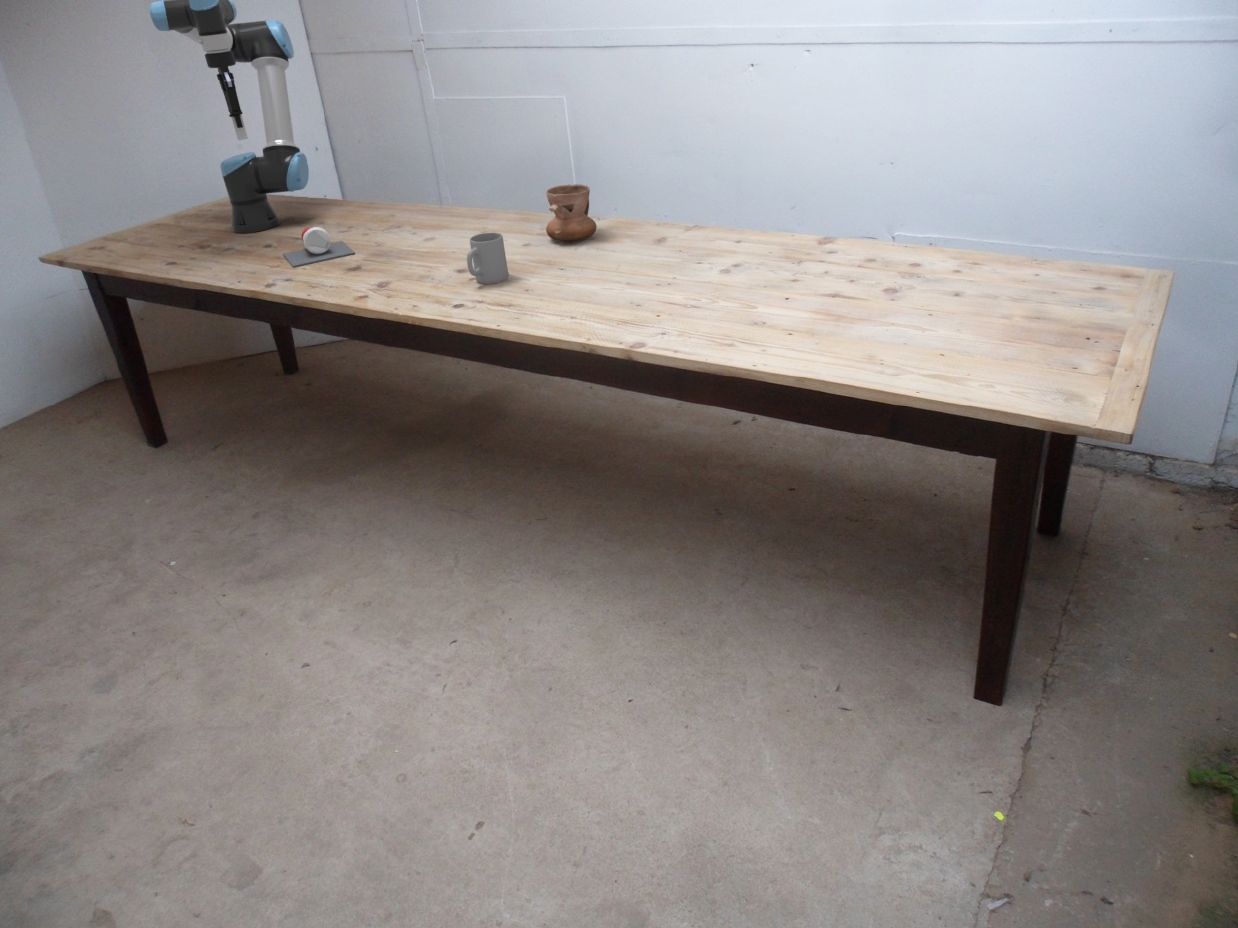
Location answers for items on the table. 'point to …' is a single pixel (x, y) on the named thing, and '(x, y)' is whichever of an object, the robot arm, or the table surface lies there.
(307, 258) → the rubber mat
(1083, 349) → the table surface
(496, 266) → the mug
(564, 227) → the ceramic jug
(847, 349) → the table surface
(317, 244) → the paper cup
